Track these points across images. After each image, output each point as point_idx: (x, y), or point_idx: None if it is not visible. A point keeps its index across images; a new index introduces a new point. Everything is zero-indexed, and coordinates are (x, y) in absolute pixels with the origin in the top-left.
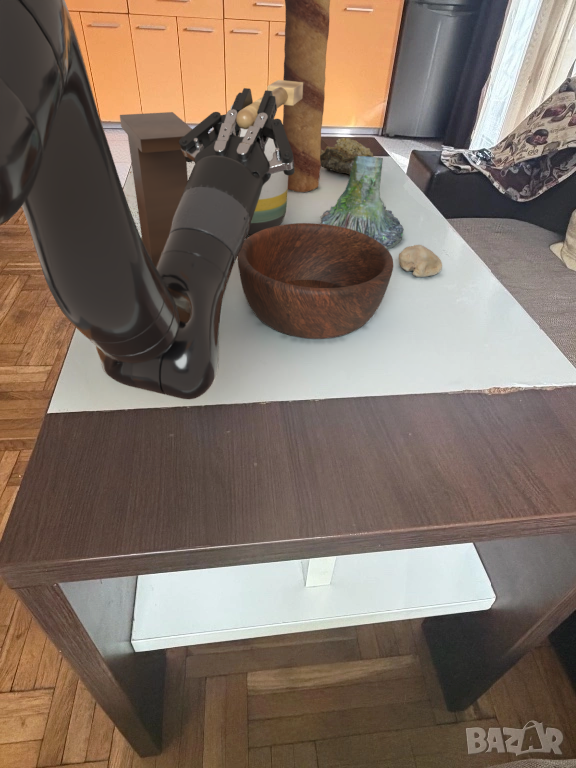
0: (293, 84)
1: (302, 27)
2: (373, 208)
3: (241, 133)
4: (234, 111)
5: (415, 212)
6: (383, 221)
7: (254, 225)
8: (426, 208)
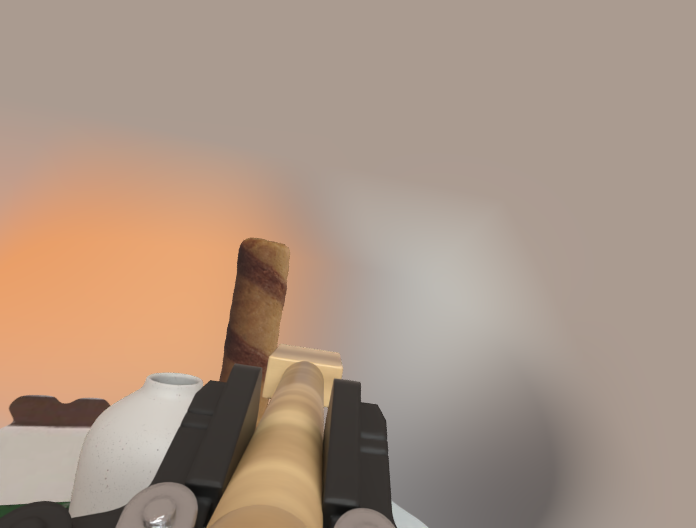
0: (327, 356)
1: (257, 292)
2: None
3: (158, 423)
4: (178, 499)
5: (400, 522)
6: None
7: None
8: (409, 513)
